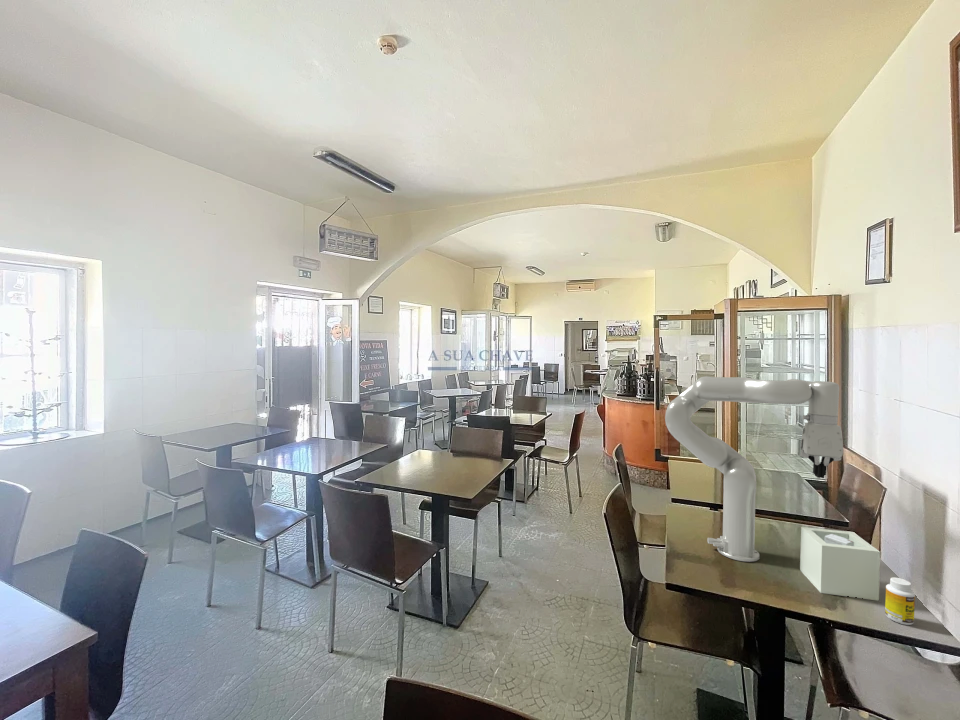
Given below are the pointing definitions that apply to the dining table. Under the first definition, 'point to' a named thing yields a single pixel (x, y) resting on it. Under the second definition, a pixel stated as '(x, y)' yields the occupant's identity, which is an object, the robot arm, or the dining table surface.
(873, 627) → the dining table surface
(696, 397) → the robot arm
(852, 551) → the holder
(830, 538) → the skincare box
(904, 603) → the supplement bottle
